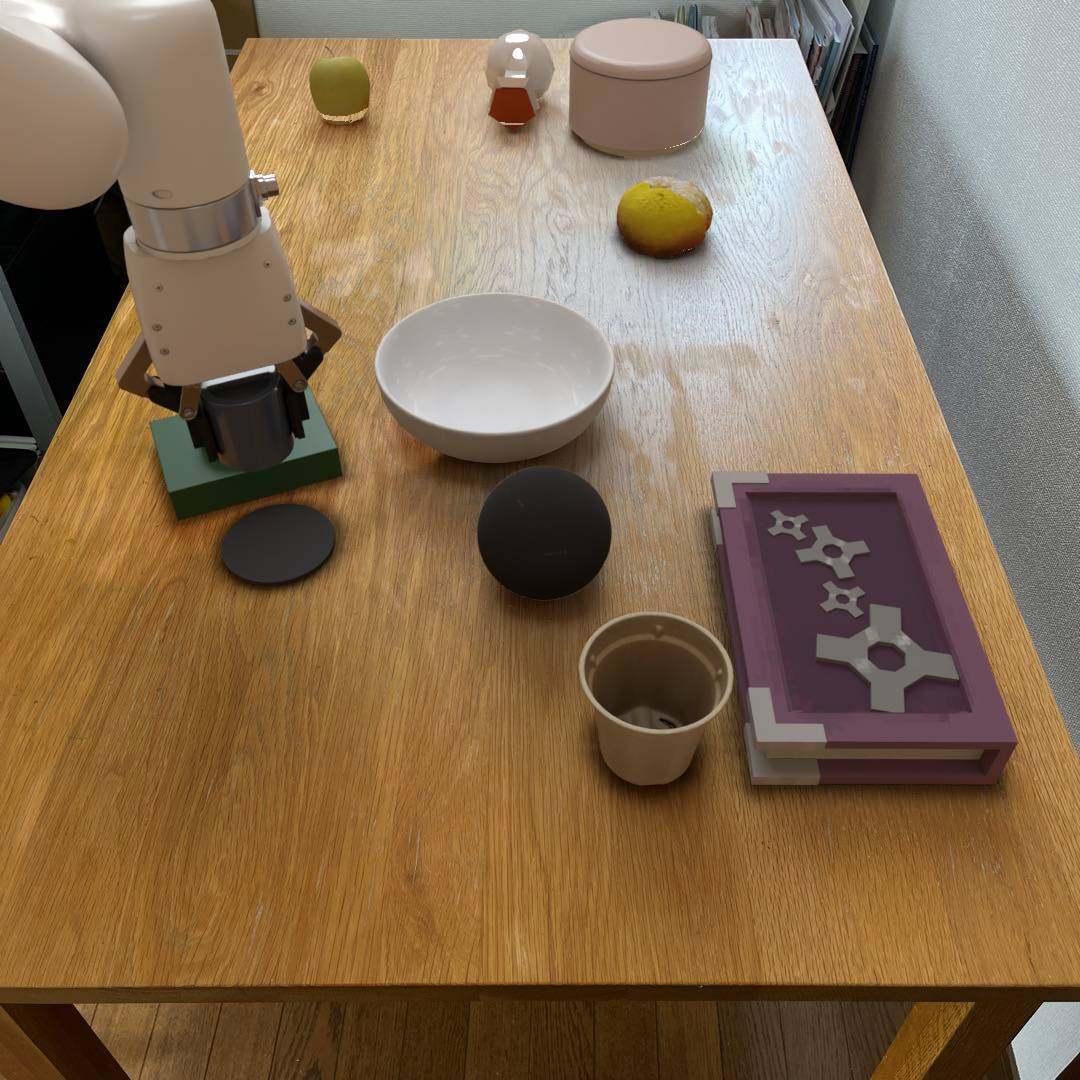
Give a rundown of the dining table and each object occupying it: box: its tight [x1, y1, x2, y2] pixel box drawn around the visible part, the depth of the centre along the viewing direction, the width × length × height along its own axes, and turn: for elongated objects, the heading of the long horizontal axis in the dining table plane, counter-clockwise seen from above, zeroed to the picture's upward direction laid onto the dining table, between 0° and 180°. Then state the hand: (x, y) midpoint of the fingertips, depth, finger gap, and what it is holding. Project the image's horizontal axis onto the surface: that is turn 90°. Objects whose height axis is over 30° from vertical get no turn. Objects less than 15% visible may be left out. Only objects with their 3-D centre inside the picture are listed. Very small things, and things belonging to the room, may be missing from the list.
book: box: [709, 470, 1019, 786], centre depth 75 cm, size 25×16×5 cm, turn 0°
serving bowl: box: [373, 292, 616, 464], centre depth 93 cm, size 21×21×7 cm
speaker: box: [476, 465, 613, 602], centre depth 77 cm, size 10×10×10 cm
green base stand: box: [148, 384, 344, 522], centre depth 89 cm, size 14×10×5 cm
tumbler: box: [200, 365, 294, 472], centre depth 74 cm, size 6×6×6 cm
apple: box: [308, 45, 371, 126], centre depth 138 cm, size 8×8×10 cm
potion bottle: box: [483, 28, 556, 133], centre depth 140 cm, size 9×10×15 cm
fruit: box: [616, 175, 714, 259], centre depth 117 cm, size 11×10×8 cm
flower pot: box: [578, 610, 734, 787], centre depth 67 cm, size 9×9×9 cm
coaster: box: [220, 502, 337, 587], centre depth 83 cm, size 9×9×1 cm
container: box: [568, 17, 713, 158], centre depth 134 cm, size 18×18×12 cm
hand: (253, 437), depth 76 cm, fingers closed on tumbler, 5 cm apart
